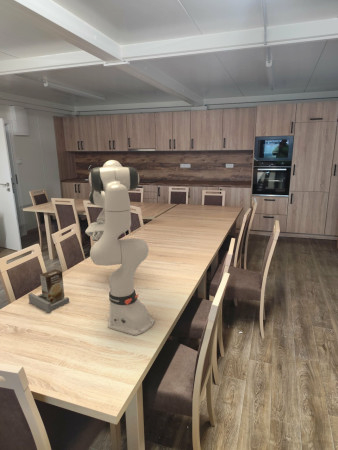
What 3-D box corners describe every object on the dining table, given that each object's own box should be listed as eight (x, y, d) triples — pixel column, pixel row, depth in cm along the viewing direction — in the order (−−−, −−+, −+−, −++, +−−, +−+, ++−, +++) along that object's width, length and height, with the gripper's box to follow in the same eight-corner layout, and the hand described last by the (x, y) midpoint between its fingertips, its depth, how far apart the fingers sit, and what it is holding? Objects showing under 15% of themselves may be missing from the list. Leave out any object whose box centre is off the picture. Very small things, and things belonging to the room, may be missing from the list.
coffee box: (49, 306, 151) (46, 277, 147) (42, 302, 154) (39, 274, 150) (65, 299, 158) (62, 271, 154) (58, 295, 162) (55, 268, 158)
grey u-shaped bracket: (70, 302, 154) (69, 294, 153) (48, 313, 144) (47, 304, 143) (50, 293, 164) (49, 285, 163) (29, 302, 155) (28, 293, 153)
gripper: (89, 219, 176) (78, 237, 168) (113, 215, 164) (103, 235, 156) (95, 225, 180) (85, 244, 172) (120, 222, 168) (110, 242, 160)
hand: (94, 239), depth 164 cm, fingers closed
